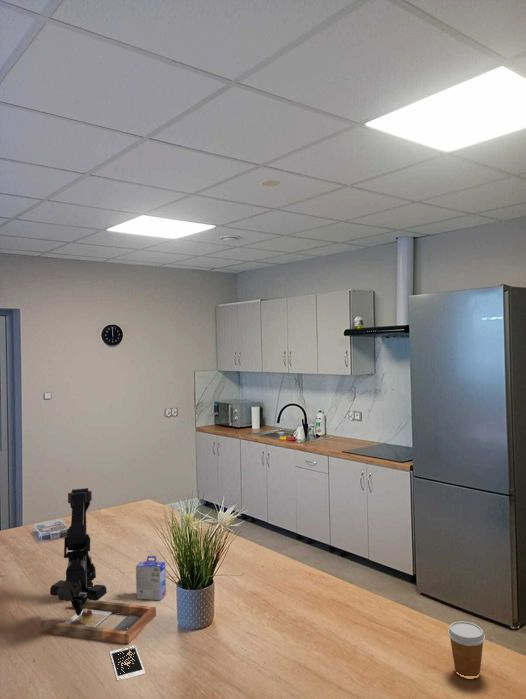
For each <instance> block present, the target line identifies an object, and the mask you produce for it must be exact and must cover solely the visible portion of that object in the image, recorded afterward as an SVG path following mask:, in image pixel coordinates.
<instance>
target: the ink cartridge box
mask: <svg viewBox="0 0 526 699" xmlns="http://www.w3.org/2000/svg"><path fill="white" fill-rule="evenodd" d="M151 559H153V560H151ZM135 575H136V576H135V585H136V587H135V588H136V599H140V600H154V601H162V599H163V598H164V597H165V596H166V595H167V582H166V581H167V579H166V575H167V573H166V562H165V561H157V556H156V555H147V557H146V561H143V560H142V561H140V562H139V563H137V565H135Z"/></svg>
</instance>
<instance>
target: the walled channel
mask: <svg viewBox="0 0 526 699" xmlns="http://www.w3.org/2000/svg"><path fill="white" fill-rule="evenodd" d="M71 608H72V609H74V607H73V605H72V604H71ZM83 608H84V609H85V608H86V609H88V608H89V609H91V610H99V611H107V612H112V613H111V614H116V613H119V615H124V614H128V615H126V617H125V618H123V619H122V621H120V622H119V623H118V624H117V625H116V626H115V627H113V629H109V628H103V627H97V626H96V627H94V626H87V625H79V624H72V623H70V624H65V622H56V621H49V620H42V621H41V622H40V632H41V633H45V634H46V633H47V634H52V635H61V636H68V637H74V638H81V639H82V638H83V639H90V640H94V641H95V640H96V641H102V642H109V643H111V642H112V643H117V642H120V643H119V644H124V643H128V644H127V645H130V644H131V643H130V642H131V641H132V640H133V639H136V637H138V636H139V634H141V632H142V631H143V630H144V629H145V628H146V627H147V626H148V625H149V624H150V623H151V622H152V621H153V620H154V619H155V618H154V617H157V607H156V606H147V605H138V604H131V603H121V602H114V601H113V602H112V601H104V600H96V601H95V600H89V599H88V598H87V600H86V602H85V605H84V607H83ZM153 618H154V619H153ZM151 620H152V621H151ZM150 621H151V622H150ZM149 622H150V623H149ZM148 623H149V624H148ZM147 624H148V625H147ZM146 625H147V626H146ZM145 626H146V627H145ZM144 627H145V628H144ZM127 628H128V629H127ZM143 628H144V629H143ZM141 630H142V631H141ZM133 641H134V640H133ZM133 641H132V642H133ZM129 643H130V644H129Z"/></svg>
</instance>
